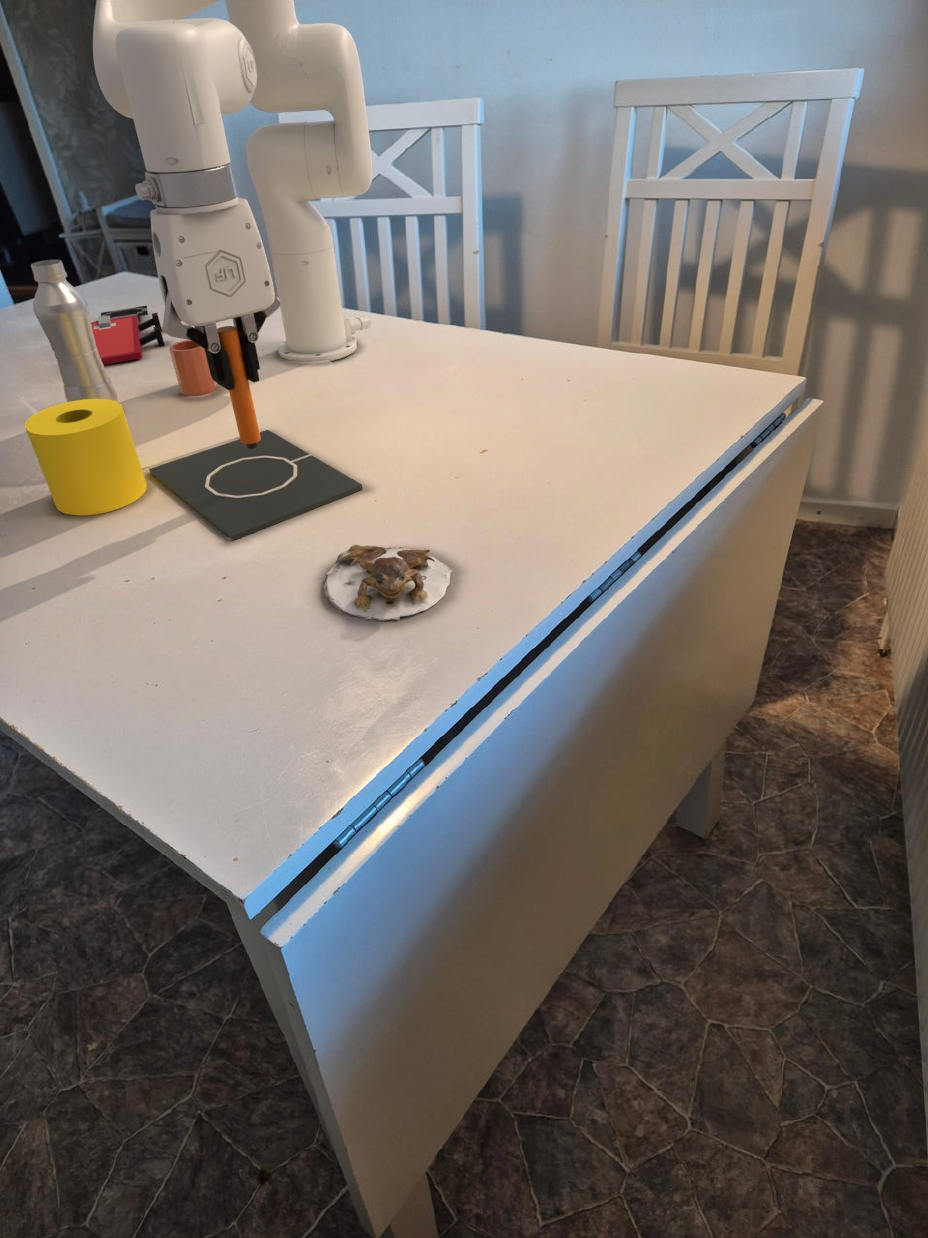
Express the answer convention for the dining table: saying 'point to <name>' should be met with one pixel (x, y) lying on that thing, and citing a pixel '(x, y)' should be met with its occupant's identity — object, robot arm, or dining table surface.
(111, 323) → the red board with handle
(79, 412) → the yellow hollow cylinder
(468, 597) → the dining table surface
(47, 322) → the silver bottle
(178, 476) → the slate board
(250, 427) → the marker
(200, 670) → the dining table surface
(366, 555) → the frog figurine
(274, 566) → the dining table surface
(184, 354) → the pen cup
